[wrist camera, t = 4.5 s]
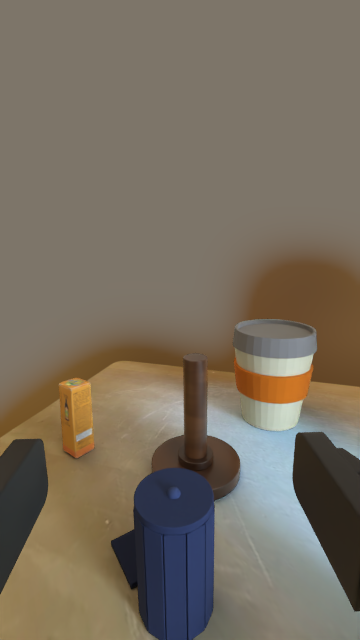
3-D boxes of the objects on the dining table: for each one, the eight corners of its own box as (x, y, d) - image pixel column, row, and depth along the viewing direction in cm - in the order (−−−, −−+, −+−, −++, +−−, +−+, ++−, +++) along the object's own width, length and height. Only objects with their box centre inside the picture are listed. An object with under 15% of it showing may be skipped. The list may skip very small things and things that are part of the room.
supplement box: (97, 447, 46) (92, 381, 43) (76, 460, 43) (69, 390, 41) (83, 439, 48) (77, 375, 45) (62, 450, 45) (55, 383, 43)
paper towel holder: (196, 434, 48) (195, 338, 45) (257, 470, 40) (263, 357, 37) (134, 467, 41) (129, 356, 38) (194, 520, 33) (194, 385, 30)
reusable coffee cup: (220, 403, 58) (221, 321, 54) (283, 394, 61) (288, 316, 57) (251, 444, 46) (255, 342, 42) (328, 431, 49) (337, 335, 45)
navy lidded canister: (227, 612, 25) (230, 497, 23) (161, 663, 22) (156, 536, 20) (162, 518, 34) (160, 428, 31) (109, 546, 31) (101, 448, 28)
